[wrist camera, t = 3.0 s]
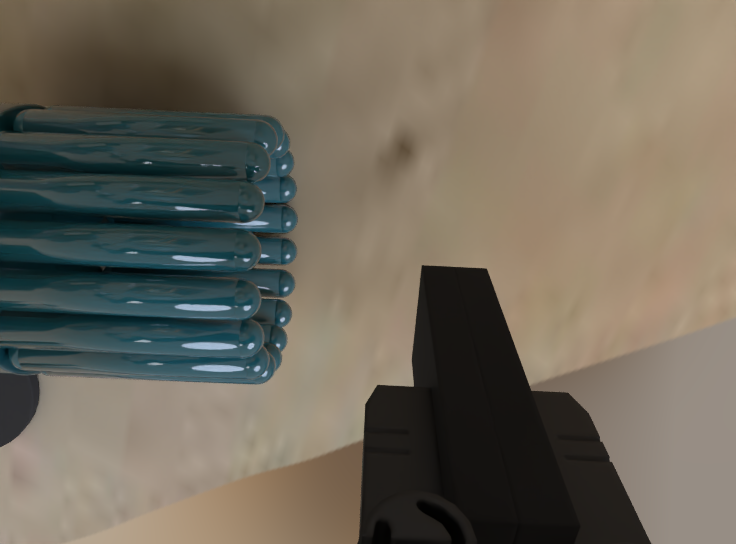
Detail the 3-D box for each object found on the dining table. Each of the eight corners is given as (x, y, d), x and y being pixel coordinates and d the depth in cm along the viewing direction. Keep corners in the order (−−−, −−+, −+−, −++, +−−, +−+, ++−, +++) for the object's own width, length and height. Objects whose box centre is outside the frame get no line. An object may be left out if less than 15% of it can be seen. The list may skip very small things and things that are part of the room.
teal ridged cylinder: (94, 255, 23) (-15, 428, 17) (15, 57, 17) (-196, 207, 11) (303, 263, 23) (273, 439, 17) (292, 71, 17) (241, 226, 11)
